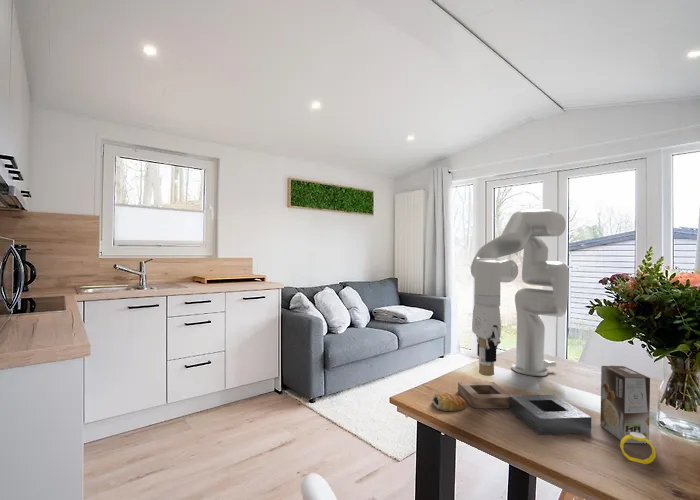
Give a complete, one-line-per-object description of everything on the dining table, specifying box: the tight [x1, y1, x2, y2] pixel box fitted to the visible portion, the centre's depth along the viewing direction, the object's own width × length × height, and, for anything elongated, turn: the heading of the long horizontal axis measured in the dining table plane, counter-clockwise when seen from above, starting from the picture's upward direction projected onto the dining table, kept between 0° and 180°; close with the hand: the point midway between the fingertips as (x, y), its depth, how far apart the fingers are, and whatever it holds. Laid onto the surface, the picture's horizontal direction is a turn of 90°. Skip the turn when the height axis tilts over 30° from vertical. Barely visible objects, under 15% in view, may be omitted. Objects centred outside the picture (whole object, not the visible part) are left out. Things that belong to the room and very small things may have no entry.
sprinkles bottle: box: [478, 336, 495, 377], centre depth 110 cm, size 5×5×14 cm
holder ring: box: [457, 381, 511, 409], centre depth 110 cm, size 12×12×3 cm
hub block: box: [508, 394, 593, 435], centre depth 97 cm, size 14×14×4 cm
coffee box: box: [599, 365, 651, 445], centre depth 90 cm, size 9×6×16 cm
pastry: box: [432, 392, 467, 412], centre depth 104 cm, size 9×7×4 cm
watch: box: [619, 432, 657, 465], centre depth 79 cm, size 6×3×6 cm, turn 62°
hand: (486, 358), depth 110 cm, fingers closed on sprinkles bottle, 4 cm apart
